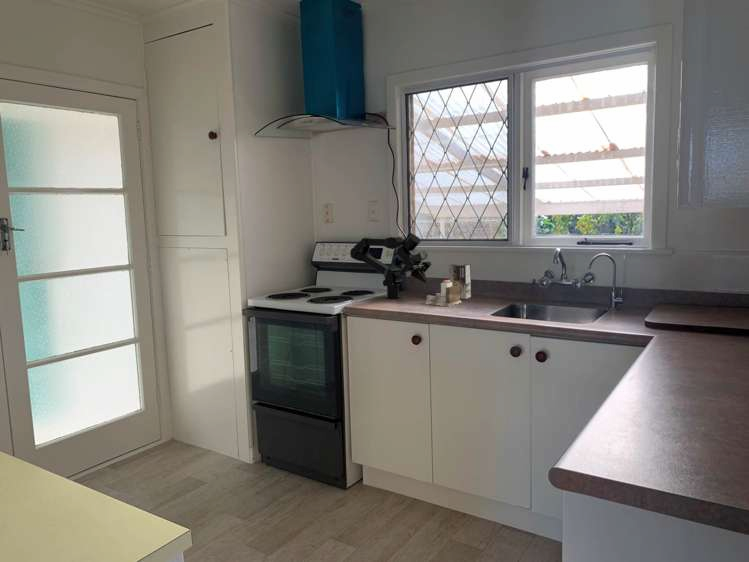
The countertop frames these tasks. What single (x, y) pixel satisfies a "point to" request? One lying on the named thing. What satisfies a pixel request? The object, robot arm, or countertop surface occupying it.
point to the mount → (450, 298)
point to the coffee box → (461, 278)
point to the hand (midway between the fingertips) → (426, 282)
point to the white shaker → (443, 287)
